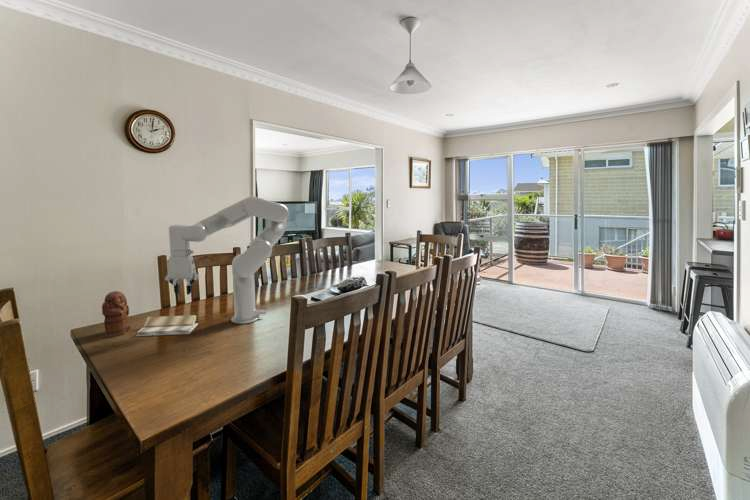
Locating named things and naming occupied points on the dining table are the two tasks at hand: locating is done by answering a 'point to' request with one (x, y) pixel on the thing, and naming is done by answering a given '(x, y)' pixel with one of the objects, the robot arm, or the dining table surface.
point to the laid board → (164, 330)
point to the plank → (170, 321)
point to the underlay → (172, 334)
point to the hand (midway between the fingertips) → (183, 293)
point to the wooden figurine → (115, 314)
